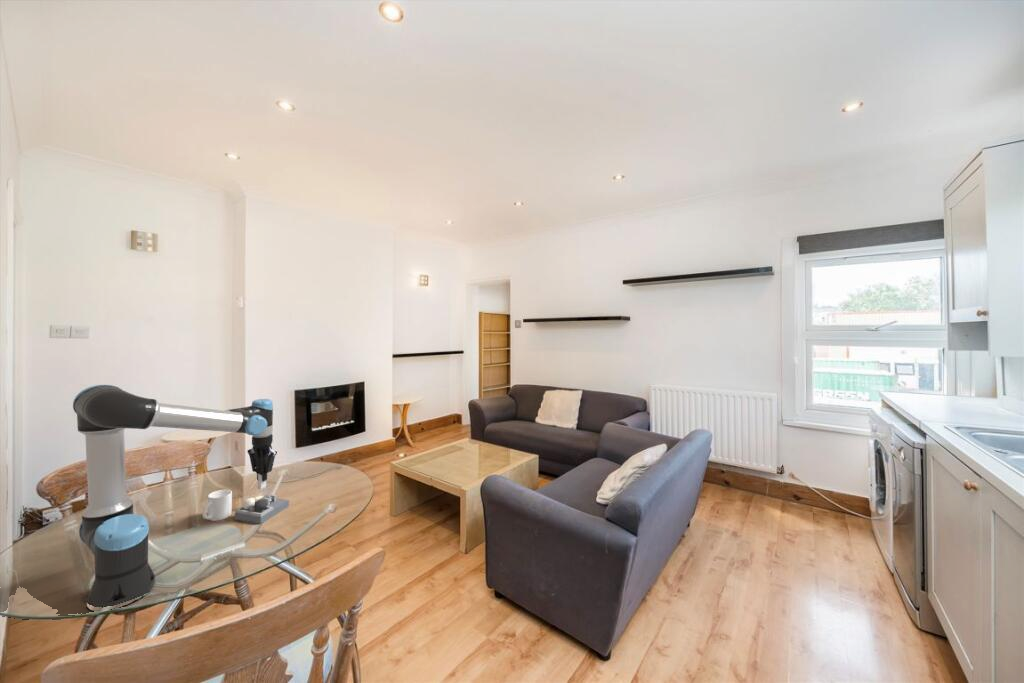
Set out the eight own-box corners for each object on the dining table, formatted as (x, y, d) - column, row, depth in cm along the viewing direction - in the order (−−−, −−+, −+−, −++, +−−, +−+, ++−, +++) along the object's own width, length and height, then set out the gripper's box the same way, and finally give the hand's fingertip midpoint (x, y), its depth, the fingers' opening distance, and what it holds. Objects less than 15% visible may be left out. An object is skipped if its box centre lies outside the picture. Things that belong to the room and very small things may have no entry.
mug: (210, 527, 157) (211, 503, 156) (194, 524, 158) (194, 500, 158) (236, 513, 169) (236, 490, 168) (220, 510, 170) (220, 488, 170)
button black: (260, 511, 163) (261, 504, 163) (252, 510, 164) (252, 503, 163) (269, 506, 167) (269, 500, 167) (260, 505, 168) (260, 498, 168)
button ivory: (248, 509, 164) (249, 502, 164) (240, 508, 165) (240, 501, 164) (257, 504, 168) (257, 498, 168) (248, 503, 169) (248, 496, 169)
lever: (270, 502, 173) (260, 476, 173) (267, 503, 173) (258, 477, 173) (273, 500, 174) (264, 475, 175) (271, 501, 175) (261, 476, 175)
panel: (260, 524, 162) (261, 510, 161) (234, 519, 164) (235, 506, 163) (288, 506, 177) (289, 494, 177) (264, 502, 180) (265, 490, 179)
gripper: (282, 433, 166) (281, 485, 168) (256, 430, 168) (256, 482, 170) (268, 439, 159) (268, 493, 160) (241, 436, 161) (241, 489, 163)
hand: (261, 487), depth 165 cm, fingers closed
